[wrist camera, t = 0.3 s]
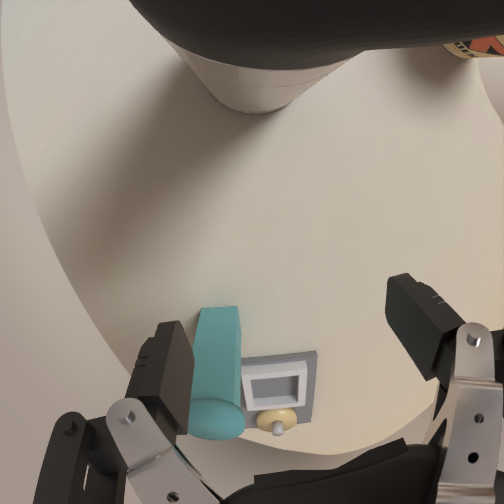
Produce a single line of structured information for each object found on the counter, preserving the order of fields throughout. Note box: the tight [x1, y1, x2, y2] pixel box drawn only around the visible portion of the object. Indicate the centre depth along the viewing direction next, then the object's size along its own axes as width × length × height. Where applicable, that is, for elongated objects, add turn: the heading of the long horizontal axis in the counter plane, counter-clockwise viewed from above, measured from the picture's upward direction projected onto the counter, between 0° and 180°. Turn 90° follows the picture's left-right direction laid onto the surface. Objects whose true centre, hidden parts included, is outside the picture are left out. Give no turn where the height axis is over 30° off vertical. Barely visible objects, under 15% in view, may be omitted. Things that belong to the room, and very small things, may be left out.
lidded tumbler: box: [187, 306, 245, 440], centre depth 25 cm, size 5×5×14 cm
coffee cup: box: [443, 35, 504, 58], centre depth 12 cm, size 9×9×12 cm
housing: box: [240, 351, 317, 436], centre depth 35 cm, size 16×11×4 cm
